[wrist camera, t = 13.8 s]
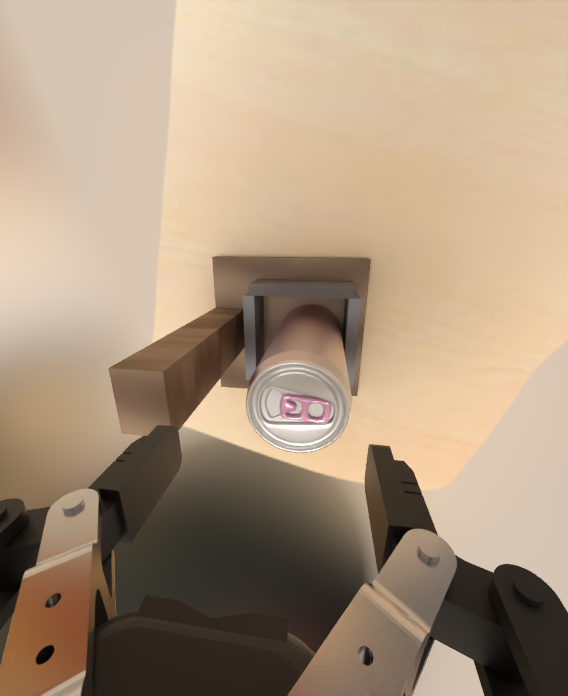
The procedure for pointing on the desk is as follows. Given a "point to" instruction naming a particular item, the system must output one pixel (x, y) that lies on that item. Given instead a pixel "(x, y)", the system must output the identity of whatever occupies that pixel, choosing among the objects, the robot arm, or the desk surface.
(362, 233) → the desk surface
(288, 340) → the beverage can
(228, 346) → the post holder
